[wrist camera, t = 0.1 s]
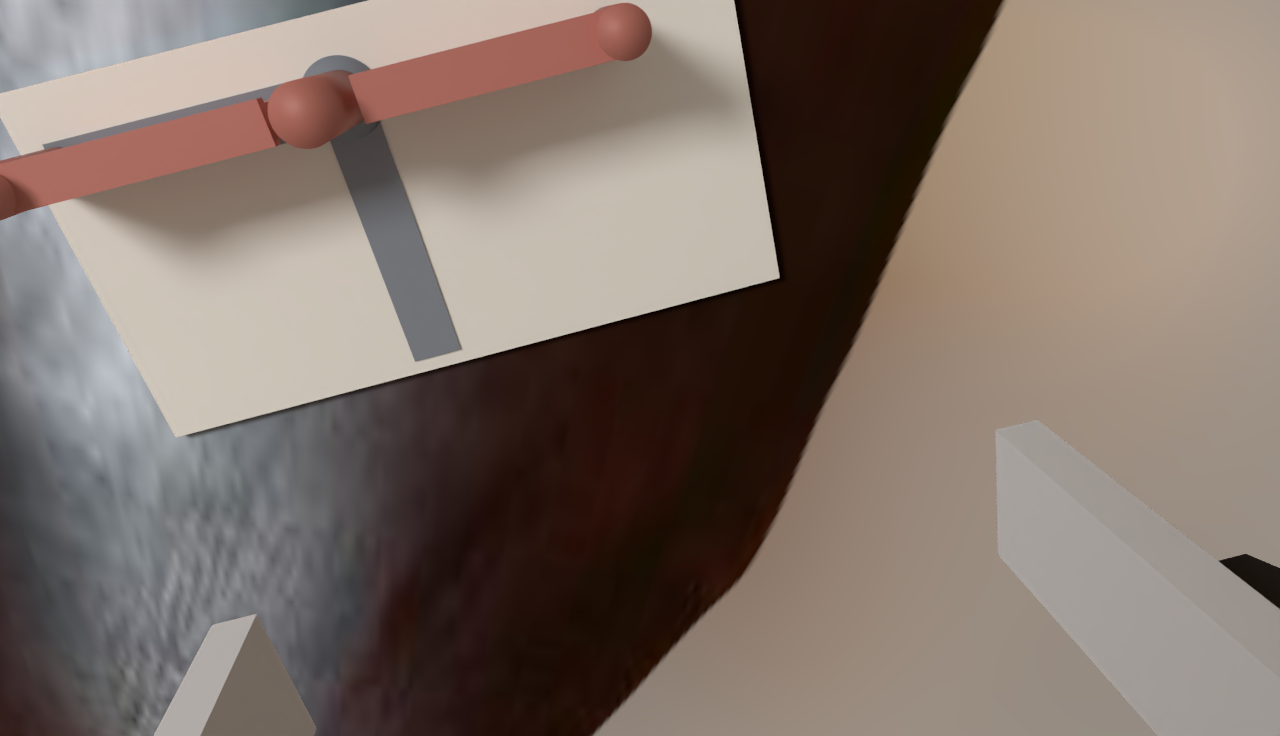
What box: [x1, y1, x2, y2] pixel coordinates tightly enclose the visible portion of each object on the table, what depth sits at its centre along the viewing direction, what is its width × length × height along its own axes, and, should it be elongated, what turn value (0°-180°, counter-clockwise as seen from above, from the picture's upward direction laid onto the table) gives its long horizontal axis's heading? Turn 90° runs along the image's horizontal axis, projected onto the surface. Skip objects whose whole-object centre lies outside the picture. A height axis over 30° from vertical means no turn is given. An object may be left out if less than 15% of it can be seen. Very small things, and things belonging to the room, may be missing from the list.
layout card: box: [0, 0, 780, 437], centre depth 38 cm, size 17×32×1 cm, turn 104°
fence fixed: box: [0, 70, 364, 220], centre depth 32 cm, size 2×15×7 cm, turn 104°
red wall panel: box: [348, 3, 652, 124], centre depth 32 cm, size 11×2×6 cm, turn 103°
